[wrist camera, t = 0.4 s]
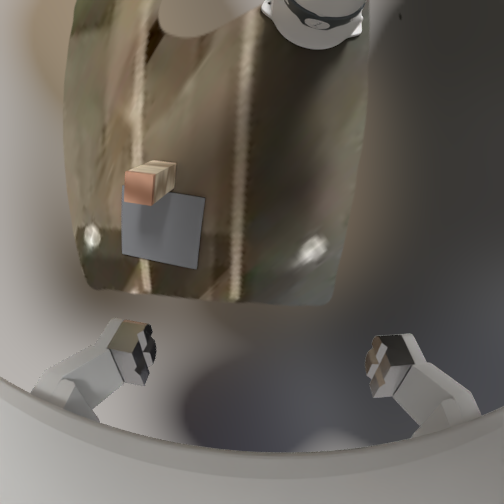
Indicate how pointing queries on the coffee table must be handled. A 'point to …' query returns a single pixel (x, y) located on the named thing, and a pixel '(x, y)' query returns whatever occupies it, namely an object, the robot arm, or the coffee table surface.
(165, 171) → the birch block
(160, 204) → the rubber mat
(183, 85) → the coffee table surface
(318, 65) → the coffee table surface
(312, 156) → the coffee table surface
